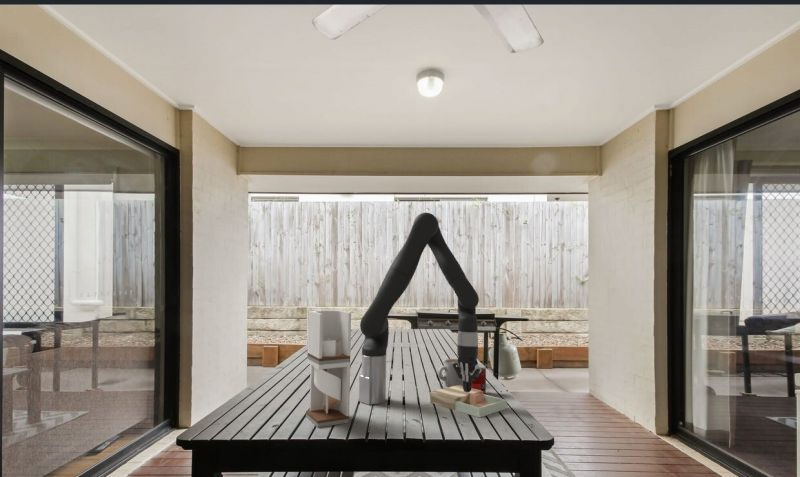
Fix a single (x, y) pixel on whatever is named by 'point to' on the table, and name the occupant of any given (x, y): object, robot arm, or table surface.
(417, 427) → the table surface
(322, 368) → the display case
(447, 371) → the coffee mug
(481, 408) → the tray
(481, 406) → the tile front
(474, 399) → the tile back
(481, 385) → the canned food
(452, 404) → the plate
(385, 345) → the robot arm
